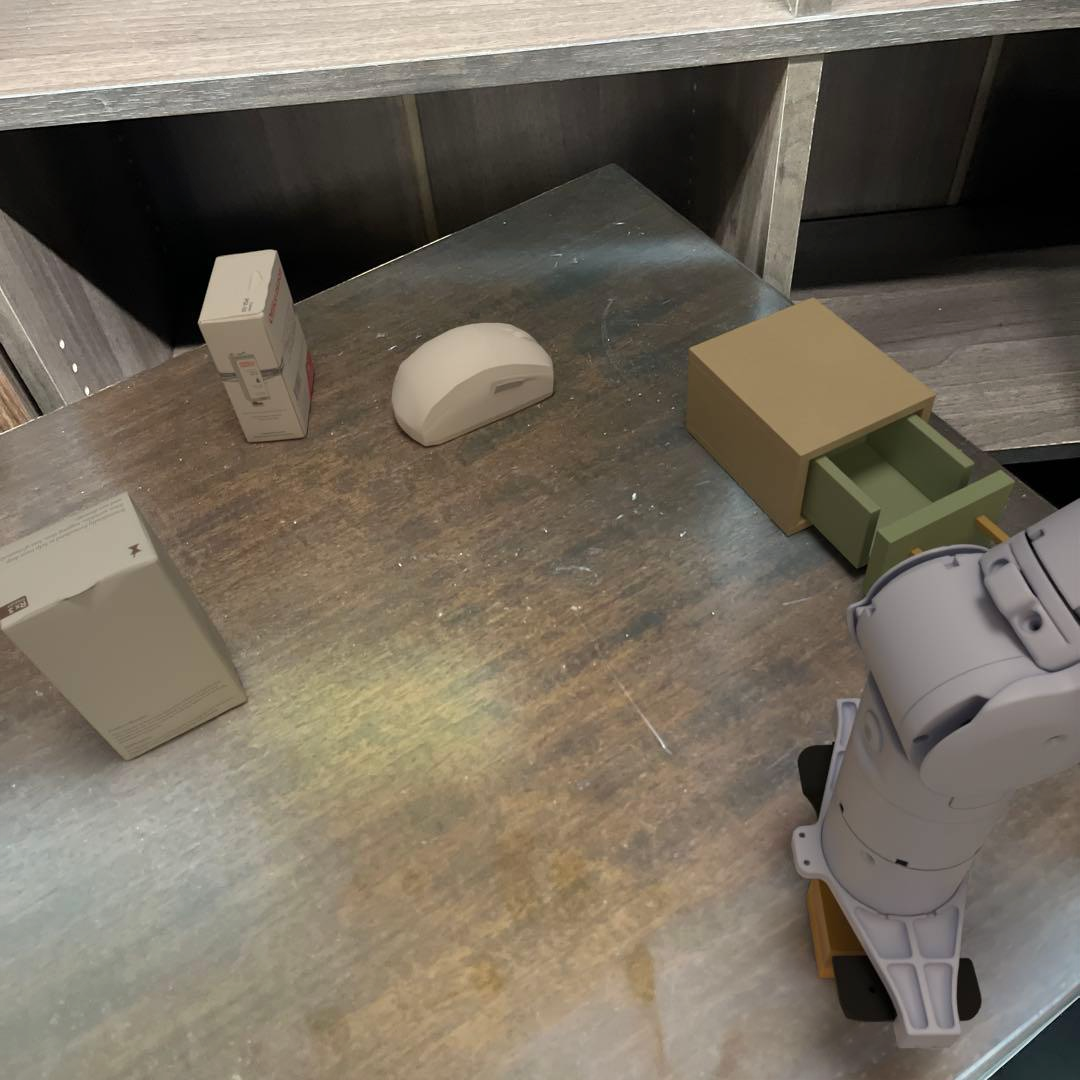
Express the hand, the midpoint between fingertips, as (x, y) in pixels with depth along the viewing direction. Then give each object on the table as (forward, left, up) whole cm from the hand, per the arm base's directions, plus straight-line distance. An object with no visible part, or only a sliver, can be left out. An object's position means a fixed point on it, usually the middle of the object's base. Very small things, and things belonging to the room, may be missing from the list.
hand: (857, 925), depth 48 cm
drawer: (+6, -25, 0) cm, 26 cm away
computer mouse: (+39, -26, -2) cm, 47 cm away
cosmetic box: (+41, +6, -2) cm, 42 cm away
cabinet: (+15, -31, -1) cm, 35 cm away
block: (0, 0, -1) cm, 1 cm away
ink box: (+53, -19, -2) cm, 57 cm away
